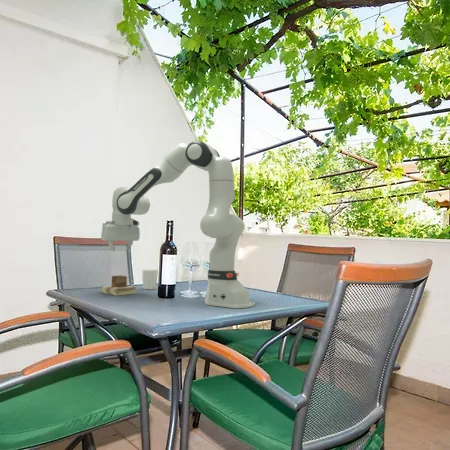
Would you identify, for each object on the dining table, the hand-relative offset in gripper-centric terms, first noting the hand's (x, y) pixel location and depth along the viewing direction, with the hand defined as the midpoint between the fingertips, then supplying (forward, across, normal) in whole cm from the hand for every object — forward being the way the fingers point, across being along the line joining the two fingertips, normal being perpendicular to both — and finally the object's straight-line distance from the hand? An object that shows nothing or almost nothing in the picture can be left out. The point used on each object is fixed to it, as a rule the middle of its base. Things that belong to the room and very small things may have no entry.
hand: (120, 250), depth 202 cm
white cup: (+21, +21, +2) cm, 30 cm away
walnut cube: (+17, 0, 0) cm, 17 cm away
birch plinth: (+20, 0, 0) cm, 20 cm away
